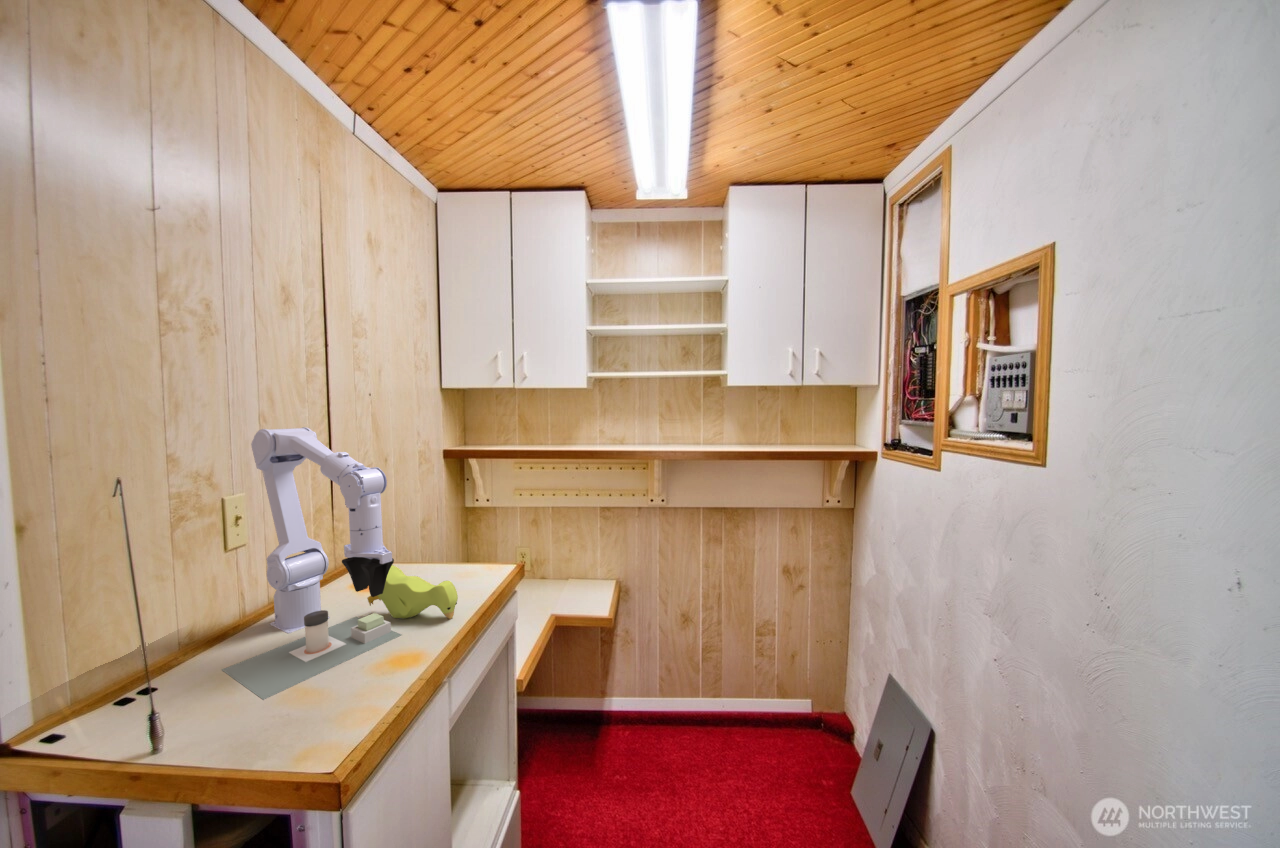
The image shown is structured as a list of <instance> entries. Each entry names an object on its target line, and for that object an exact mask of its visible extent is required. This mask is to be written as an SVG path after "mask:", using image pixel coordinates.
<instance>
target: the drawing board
mask: <svg viewBox="0 0 1280 848" xmlns="http://www.w3.org/2000/svg"><path fill="white" fill-rule="evenodd" d="M361 618H362V617H361ZM361 618H360V617H359V616H355V617H351V618H349V619H346V620H344V621H342V622H339V623H336V624H334V625H331V626H328V635H329V646H328V647H327V648H325V649H324V650H321V651H318V652H314V653H308V652H306V636H303V637H301V638H297V639H295V640H293V641H290V642H288V643H285V644H283V645H281V646H278V647H275V648H273V649H270V650H267V651H265V652H262V653H260V654H258V655H255V656H252V657H251V658H250V657H249V658H247V659H246V660H242V661H240V662H237V663H235V664H233V665H230V666H227V667H225V668H222V669H221V672H224V673H225V674H226V675H228V676H229V677H231V678H232V679H233V680H234V681H237V682H238V684H241V685H242V686H243V687H245V688H246V689H247V690H249V691H250V692H251V693H253V694H254V695H256V696H257V697H258V698H260V699H262V700H263V701H264V700H267V699H269V698H271V697H273V696H275V695H277V694H279V693H281V692H284V691H285V690H287V689H289V688H292V687H294V686H296V685H298V684H300V683H302V682H305V681H307V680H310V679H312V678H313V677H316V676H317V675H320V674H322V673H324V672H326V671H328V670H330V669H333V668H335V667H337V666H339V665H342V664H343V663H345V662H347V661H350V660H352V659H354V658H356V657H358V656H360V655H362V654H365V653H367V652H369V651H371V650H373V649H375V648H377V647H379V646H382V645H384V644H387V643H388V642H391V641H392V640H395V639H398V638H399V637H400V636H403V633H399V632H397V631H394V630H392V623H391V621H388V620H385V619H384V624H383V625H380V626H378V627H376V628H373V629H371V630H369V631H363V630H361V629H358V619H361Z"/></svg>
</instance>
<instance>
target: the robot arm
mask: <svg viewBox="0 0 1280 848" xmlns="http://www.w3.org/2000/svg"><path fill="white" fill-rule="evenodd" d="M250 446H251V451H252V454H253V457H254V458H253V459H254V462H255V466H256V469H258V470H260V471H261V473H262V476H263V481H264V485H265V489H266V495H267V498H268V503H269V507H270V510H271V515H272V519H273V520H272V521H273V522H274V523H273V524H274V527H275V533H276V536H277V542H278V545H277V546H276V548H275V549H273V550H272V552H271V553H270V554H269V555H268V556H267V557H266V564H267V566H266V567H267V569H266V580H267V583H268V584H269V585H270V587H271V588H273V589H274V590H276V591H275V592H274V593H273V594H274V595H273V607H274V608H273V610H274V621H272V622H270V623H269V625H270V626H272V627H275V628H276V629H279V630H280V631H282V632H284V633H286V634H291V633H294V632H297V631H299V630H301V629H305V625H304V617H305V616H306V615H307V614H310V613H312V612H316V611H321V610H322V602H321V582H320V581H321V580H323V579H324V577H323V576H324V575H325V574H326V573H327V572H328V569H329V564H330V563H329V562H330V561H329V557H328V556H327V553H325V551H324V549H323V546H322V542H320V541H319V540H316V539H313V538H310V537H309V536H308V531H307V527H306V523H305V519H304V515H303V511H302V506H301V502H300V501H301V500H300V497H299V494H298V488H297V485H296V479H295V475H294V470H295V469H296V467H298V466H299V465H301V464H303V462H304V461H305V460H306V459H307V460H309V461H311V462H312V463H314V464H316V465H319V466H320V469H319V470H320V472H321V474H322V475H323V476H325V477H326V478H328V479H329V480H331V481H332V482H333V483H335V484H336V485H338V486H339V490H340V493H341V496H343V499H344V505H345V506H346V508H348V521H349V523H348V524H349V525H348V526H349V544H345V545H343V550H344V551H343V553H344V557H345V558H343V559H342V560H341V563H342V565H343V566H344V567H345V569H346V570H347V572H348V574H349V576H350V579H351V582H352V585H353V587H354V590H355V592H357V593H358V592H361V591H364V590H366V589H368V590H369V591H368V592H369V594H370V595H369V596H371V597H375V596H377V595H380V594H383V591H384V587H385V582H386V578H387V575H388V572H389V570H390V568H391V566H392V565H394V563H395V560H394V558H393V552H392V551H390V550H388V549H387V547H386V546H385V544H384V539H383V538H384V537H383V535H384V533H383V517H382V514H383V513H382V496H381V495H382V494H383V493H384V492H385V491H386V488H387V486H388V479H387V476H386V474H385V472H384V471H383V470H382V469H381V468H380V467H378V466H374V467H367V466H365V464H364V463H362V462H359V461H357V460H355V458H353V457H352V456H350V453H348V452H346V451H336V452H333V451H332V450H331V449H330V448H328V447H327V446H326V445H325V444H323V443H322V442H321V441H320V440H319V439H318V436H317V433H316V431H313V430H312V429H311V428H309V427H305V426H304V427H296V428H294V427H293V428H274V429H273V428H272V429H271V428H270V429H267V428H260V429H259V430H257V431H256V433H255V434H254V436H253V438H252V441H251V443H250ZM297 553H300V554H297ZM293 554H297V555H293ZM291 555H292V556H291ZM288 556H290V557H288ZM329 619H330V616H328V620H329Z"/></svg>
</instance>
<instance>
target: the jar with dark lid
mask: <svg viewBox="0 0 1280 848" xmlns="http://www.w3.org/2000/svg"><path fill="white" fill-rule="evenodd" d="M328 617H329V611H328V610H326V609H324V610H322V609H321V611H316V612H312V613H310V614H307V615H306V616H305V617H304V625H305V628H304V630H305V631H304V633H305V634H304V637H306V652H308V653H314V652H318V651H321V650H324V649H325V648H327V647H328V646H329V635H328V628H329V619H328Z"/></svg>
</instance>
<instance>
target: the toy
mask: <svg viewBox="0 0 1280 848" xmlns="http://www.w3.org/2000/svg"><path fill="white" fill-rule="evenodd" d="M458 597H459V596H458V592H457V588H456V586H455V585H454V584H453V582H452V581H451V580H443V581H441V582H440V583H438V584H437V585H435V584H432V583H430V582H428V581H426V580H425V579H423V578H422V577H420V576H416V575H406V574H405V573H404V571H402V569H400V568H399V567H398V566H396V565H394V564H392V566H391V568H390V570H389V572H388V575H387V578H386V582H385V587H384V591H383V594H380V595H377V596H375V597H371V595H369V596H368V597H367V602H368V604H369V606H370V607H372V605H374V601H377V600H379V602H381V601H382V602H383V604H384V606H385V608H386V609H387V611H388V612H389V614H390V615H391V617H392V618H393V619H398V618H402V619H409V618H412V617H413V618H414V617H416V616H417V615H419V614H420V613H421V612H423V611H425V610H426V609H427V608H428V607H431V606H435V607H437V608H439V610H440V611H441V612H442V614H443V615H444V616H445V618H447V619H449V620H450V619H451V620H452V619H453V618H454V615H455V609H456V608H455V607H456V605H457V604H458Z"/></svg>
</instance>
